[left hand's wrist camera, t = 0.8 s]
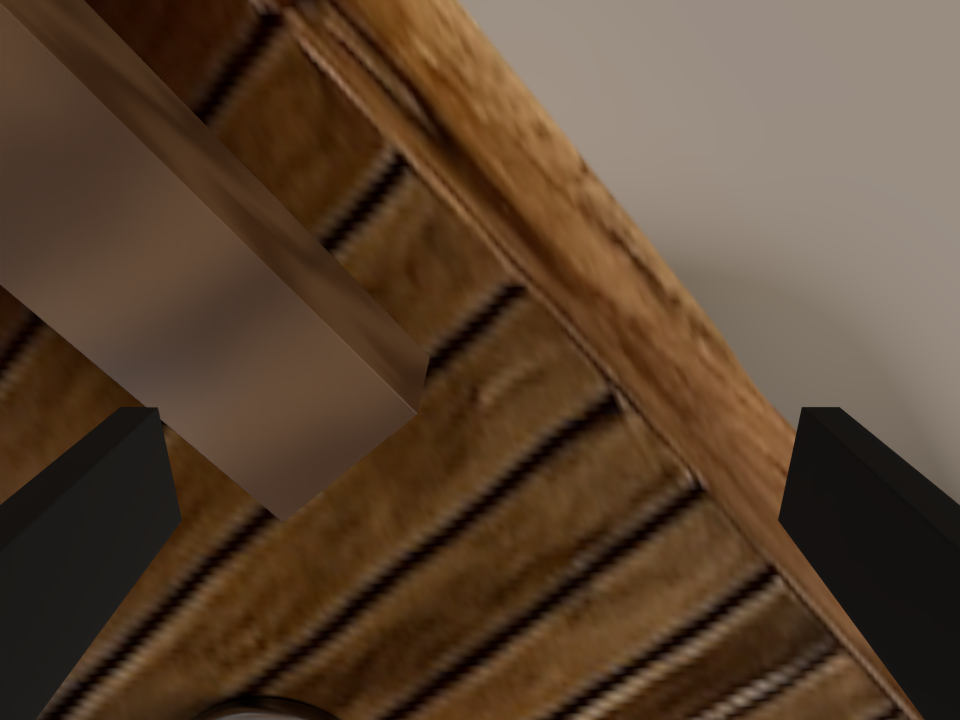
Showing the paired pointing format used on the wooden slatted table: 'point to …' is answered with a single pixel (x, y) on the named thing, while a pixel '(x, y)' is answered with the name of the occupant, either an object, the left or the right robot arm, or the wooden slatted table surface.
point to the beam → (185, 266)
